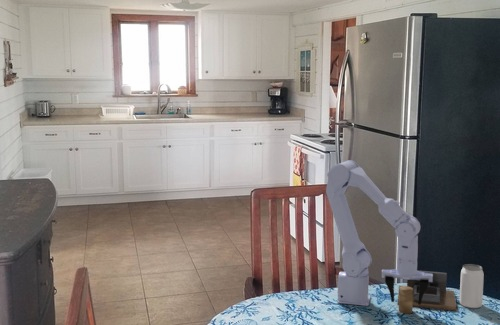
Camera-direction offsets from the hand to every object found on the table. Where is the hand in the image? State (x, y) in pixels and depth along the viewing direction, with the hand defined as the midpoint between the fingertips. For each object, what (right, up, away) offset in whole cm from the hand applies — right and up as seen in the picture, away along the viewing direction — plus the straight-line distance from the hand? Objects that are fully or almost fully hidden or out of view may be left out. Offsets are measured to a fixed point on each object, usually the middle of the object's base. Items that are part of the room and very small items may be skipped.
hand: (406, 302), depth 166 cm
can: (+21, -2, +4) cm, 22 cm away
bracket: (+9, -1, +9) cm, 12 cm away
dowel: (0, -3, 0) cm, 3 cm away
